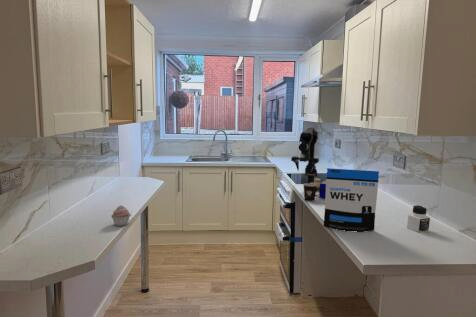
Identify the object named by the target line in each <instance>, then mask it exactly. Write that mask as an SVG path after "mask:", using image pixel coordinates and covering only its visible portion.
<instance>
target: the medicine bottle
mask: <svg viewBox="0 0 476 317" xmlns="http://www.w3.org/2000/svg"><path fill="white" fill-rule="evenodd" d="M427 209H428V208H427V207H426V206H424V205H419V204H417V205H413V206H412V213H410V214H408V215H407V223H406V228H407V229H409V230H411V231H413V232H416V233H423V232H429V230H430V229H429V228H430V222H431V221H430V220H431V217H430V216H427V211H428V210H427Z"/></svg>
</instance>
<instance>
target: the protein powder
mask: <svg viewBox="0 0 476 317" xmlns="http://www.w3.org/2000/svg"><path fill="white" fill-rule="evenodd" d="M326 170H327V171H326V177H325V178H326V179H325V181H326V197H325V199H324V200H325V201H324V216H323V227H327V228H329V229H332V230H336V229H337V230H336V231H340V230H345V231H344V232H347V231H357V232H356V233H365V232H364V231H368V232H372V231H371V230H374V231H375V223H376V221H375V220H376V210H377V200H378V199H377V198H378V190H379V178H380V177H379V176H380V171H377V170H364V169H345V168H343V169H342V168H332V167H331V168H330V167H329V168H326Z"/></svg>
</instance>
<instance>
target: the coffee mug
mask: <svg viewBox="0 0 476 317" xmlns="http://www.w3.org/2000/svg"><path fill="white" fill-rule="evenodd" d="M319 188H320V187H319ZM319 188H317V185H316V184H311V183H306V182H305V183H303V197H304V201H306V202H314V201H315V199H316V197H317V196H319V195H320V194H321V193H322V192H323V189H322V188H320V189H322V192H321V193H320V192H319V193H320V194H319V193H318V194H317V192H316V191H317V189H319Z"/></svg>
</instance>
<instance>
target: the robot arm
mask: <svg viewBox="0 0 476 317" xmlns="http://www.w3.org/2000/svg"><path fill="white" fill-rule="evenodd" d="M318 140H319V133H318V131H317V130H316V129H315V128H313V127H312V128H311V127H309V128H307V129H306V131H302V132H301V133H300V135H299V140H298V143H299V145H298V150H299V151H300V155H298V156H295V155H293V156H292V157H291V158H290V160H291V162H293V163H294V164H295V166H296V169H297V171H298V172H299V170H300V169H299V167H300V165H299V164H300V162H304V163H307V162H308V163H307V164H306V166H305V168H304V175H305V176H306V182H305V184H306V183H314V179H315V178H317V177H318V169H317V166H316V165H317V164H318V163H319V162H320V158H319V157H315V151H316V150H315V149H316V144H317V142H318Z"/></svg>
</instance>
